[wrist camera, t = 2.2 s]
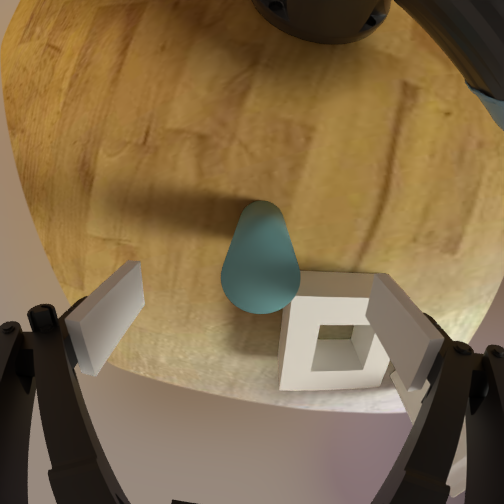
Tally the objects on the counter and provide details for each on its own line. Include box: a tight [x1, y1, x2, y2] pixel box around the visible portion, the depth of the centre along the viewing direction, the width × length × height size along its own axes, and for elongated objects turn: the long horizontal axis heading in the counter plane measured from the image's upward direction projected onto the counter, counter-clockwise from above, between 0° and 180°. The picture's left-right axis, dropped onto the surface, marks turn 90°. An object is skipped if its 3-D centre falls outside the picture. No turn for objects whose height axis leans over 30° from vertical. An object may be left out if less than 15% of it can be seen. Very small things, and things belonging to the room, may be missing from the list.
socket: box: [277, 271, 410, 391], centre depth 30 cm, size 12×12×6 cm
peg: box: [221, 201, 301, 314], centre depth 23 cm, size 4×4×14 cm
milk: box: [390, 370, 467, 497], centre depth 25 cm, size 6×6×22 cm
